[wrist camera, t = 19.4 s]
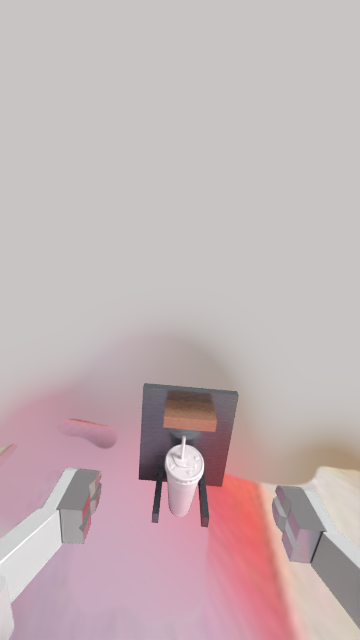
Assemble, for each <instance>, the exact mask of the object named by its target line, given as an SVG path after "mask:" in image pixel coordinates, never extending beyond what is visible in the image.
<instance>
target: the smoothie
mask: <svg viewBox="0 0 360 640" xmlns="http://www.w3.org/2000/svg"><path fill="white" fill-rule="evenodd" d="M185 441H186V436H183V437H182V445H176V446H174V447H172V448H171V449H170V450H169V451H168V453H167V455H166V460H165V470H166V472H167V481H168V498H169V508H170V511H171V512H172V514H174V515H175V516H177V517H183V516H185V515H186V514H187V513H188V512H189V509H190V506H191V503H192V500H193V497H194V493H195V490H196V487H197V484H198V481H199V480H200V478H201V477H202V475H203V471H204V460H203V457H202V455H201V454H200V452H199V451H198V450H197V449H195V448H194V447H192V446H189V445H185Z"/></svg>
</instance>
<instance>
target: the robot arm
mask: <svg viewBox="0 0 360 640" xmlns="http://www.w3.org/2000/svg"><path fill="white" fill-rule="evenodd" d="M100 479H101V471H96V470H87V469H78V468H67V469H66V470H65V471H64V472H63V474H62V475H61V477H60V479H59V480H58V482H57V484H56V486H55V487H54V489H53V491H52V492H51V494H50V496H49V497H48V499H47V501H46V502H45V504H44V506H43V507H42V508H38V509H37V510H36V511H34V512H33V513H32V514H31V515H29V516H28V517H27V518H26V519H24V520H23V521H22V522H21V523H19V524H18V525H17V526H16V527H14V528H13V529H12V530H11V531H10V532H8V533H7V534H6V535H5V536H4V537H2V538H1V539H0V640H9V638H10V636H11V634H12V632H13V630H14V628H15V627H14V618H13V613H12V608H11V603H12V602H13V601H14V600H15V598H16V597H17V596H18V595H19V594H20V593H21V592H22V590H23V589H24V588H25V587H26V586H27V585H28V583H29V582H30V581H31V580H32V579H33V578H34V577H35V575H36V574H37V573H38V572H39V571H40V570H41V568H42V567H43V566H44V565H45V564H46V563H47V561H48V560H49V559H50V558H51V557H52V556H53V555H54V553H55V552H56V551H57V550H58V549H59V548H60V546H61V545H62V543H68V544H84V541H85V539H86V536H87V533H88V530H89V528H90V525H91V515H92V514H93V513H94V512H95V511H96V508H97V506H98V503H99V498H100V494H101V484H100V482H99V481H100ZM275 492H276V494H277V496H276V497H275V498H274V499H273V503H272V510H273V516H274V520H275V522H276V525H277V527H278V528H279V529H280V530H281V531H282V533H283V535H282V542H283V544H284V547H285V550H286V552H287V555H288V558H289V561H292V562H300V563H309V564H311V566H312V567H313V569H314V570H315V571H316V573H317V574H318V575H319V577H320V578H321V579H322V580H323V582H324V583H325V584H326V586H327V587H328V588H329V590H330V591H331V592H332V594H333V595H334V596H335V597H336V599H337V600H338V601H339V603H340V604H341V605H342V607H343V608H344V609H345V611H346V612H347V613H348V615H349V616H350V617H351V618H352V620H353V621H354V622H355V624H356V625H357V626H358V628H359V629H360V549H359V548H358V547H357V546H356V545H355V544H354V543H353V542H352V541H351V540H350V539H349V538H348V537H346V536H345V535H344V534H342V533H339V531H338V529H337V528H336V526H335V524H334V523H333V521H332V519H331V518H330V516H329V514H328V513H327V511H326V509H325V508H324V506H323V504H322V503H321V501H320V499H319V498H318V496H317V494H316V493H315V491H314V490H313V489H312V488H301V487H293V486H277V487H276V491H275Z"/></svg>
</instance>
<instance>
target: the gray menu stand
mask: <svg viewBox="0 0 360 640" xmlns="http://www.w3.org/2000/svg"><path fill="white" fill-rule="evenodd" d="M237 401H238V393H237V391H226V390H215V389H203V388H192V387H181V386H170V385H157V384H147V383H145V384H144V387H143V404H142V424H141V444H140V464H139V479H141V480H152V481H156V490H155V497H154V505H153V513H152V522H154V523H158V517H159V508H160V497H161V487H162V481H163V482H168V481H167V472H166V470H165V460H166V455H167V453H168V451H169V450H170V449H171V448H172V447H174V446H176V445H182V437H183V436H186V441H185V445H189V446H192V447H194V448H195V449H197V450H198V451H199V452H200V454H201V455H202V457H203V460H204V471H203V475H202V477H201V478H200V480H199V481H198V485H199V500H200V513H201V526H202V527H208V522H209V512H208V502H207V493H206V485H210V486H222V482H223V477H224V471H225V466H226V461H227V455H228V450H229V444H230V439H231V433H232V427H233V422H234V417H235V412H236V406H237Z"/></svg>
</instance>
